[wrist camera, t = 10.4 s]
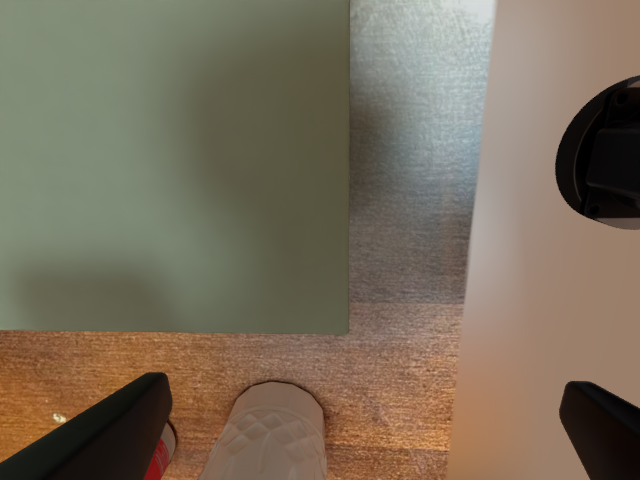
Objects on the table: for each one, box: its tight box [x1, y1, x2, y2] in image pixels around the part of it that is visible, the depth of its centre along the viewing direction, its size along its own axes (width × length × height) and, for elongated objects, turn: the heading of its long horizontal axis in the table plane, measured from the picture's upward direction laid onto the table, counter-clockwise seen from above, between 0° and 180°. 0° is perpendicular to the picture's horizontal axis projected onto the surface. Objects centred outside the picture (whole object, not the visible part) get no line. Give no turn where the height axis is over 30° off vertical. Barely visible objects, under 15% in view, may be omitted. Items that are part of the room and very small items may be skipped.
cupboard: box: [0, 0, 350, 335], centre depth 12 cm, size 11×16×11 cm
